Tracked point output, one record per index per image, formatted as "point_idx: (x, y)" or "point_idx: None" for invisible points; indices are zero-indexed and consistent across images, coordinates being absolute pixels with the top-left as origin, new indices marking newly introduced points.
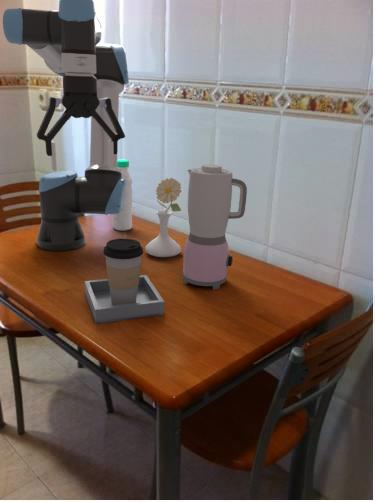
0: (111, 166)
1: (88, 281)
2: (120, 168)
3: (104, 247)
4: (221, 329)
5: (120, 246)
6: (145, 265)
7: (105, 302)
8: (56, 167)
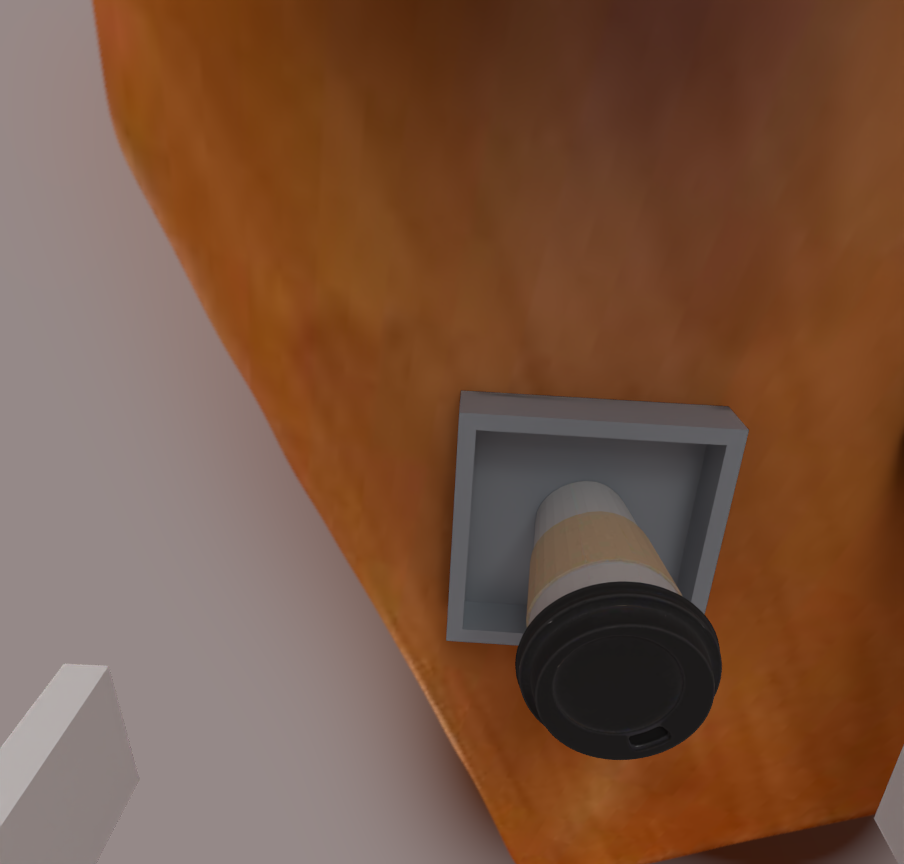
0: (901, 851)
1: (474, 421)
2: None
3: (533, 641)
4: (796, 736)
5: (598, 711)
6: (863, 140)
7: (514, 505)
8: (118, 819)
